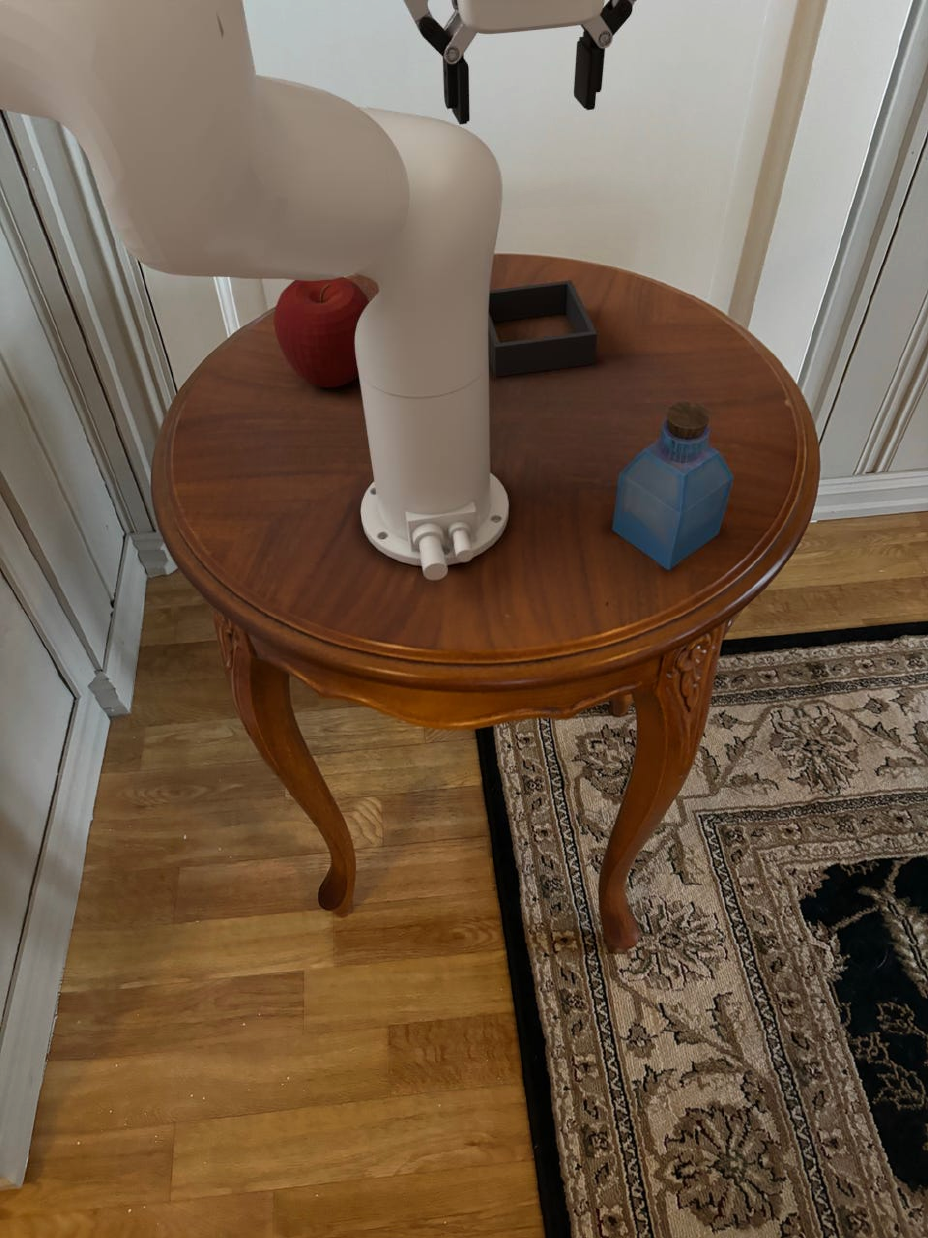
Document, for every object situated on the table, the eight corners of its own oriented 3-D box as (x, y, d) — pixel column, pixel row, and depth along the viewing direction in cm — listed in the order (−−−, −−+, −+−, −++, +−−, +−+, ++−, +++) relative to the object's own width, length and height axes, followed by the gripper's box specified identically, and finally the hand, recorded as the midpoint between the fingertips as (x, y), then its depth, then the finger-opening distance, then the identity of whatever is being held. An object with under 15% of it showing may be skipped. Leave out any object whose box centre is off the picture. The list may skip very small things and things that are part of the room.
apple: (300, 415, 86) (280, 322, 78) (276, 362, 91) (255, 271, 84) (393, 390, 88) (382, 297, 80) (363, 340, 93) (351, 249, 86)
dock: (594, 364, 89) (597, 333, 87) (495, 377, 89) (495, 346, 86) (569, 309, 96) (571, 279, 93) (476, 321, 95) (475, 291, 92)
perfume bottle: (718, 533, 74) (749, 416, 64) (668, 570, 71) (693, 453, 62) (662, 496, 77) (684, 378, 68) (612, 529, 74) (627, 413, 65)
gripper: (401, -177, 50) (419, 142, 63) (688, -196, 53) (649, 116, 66) (380, -196, 55) (401, 104, 68) (643, -213, 57) (615, 81, 70)
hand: (522, 110), depth 67 cm, fingers open, 9 cm apart
